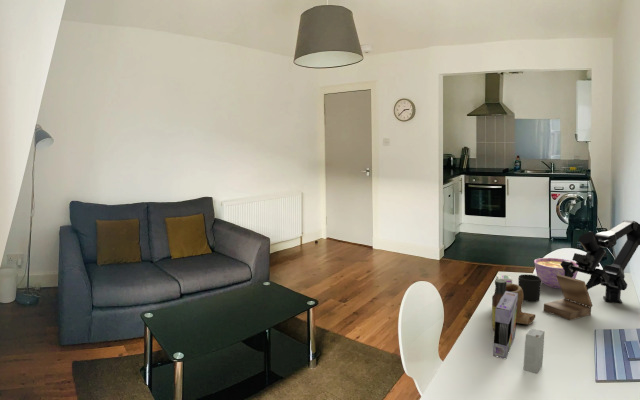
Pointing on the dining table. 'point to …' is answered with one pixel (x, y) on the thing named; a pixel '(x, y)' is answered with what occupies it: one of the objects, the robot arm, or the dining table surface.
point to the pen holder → (530, 287)
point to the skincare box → (534, 350)
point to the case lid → (574, 290)
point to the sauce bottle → (497, 297)
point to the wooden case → (567, 309)
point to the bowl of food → (551, 270)
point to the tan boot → (520, 305)
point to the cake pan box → (505, 324)
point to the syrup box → (504, 278)
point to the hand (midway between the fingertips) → (574, 286)
